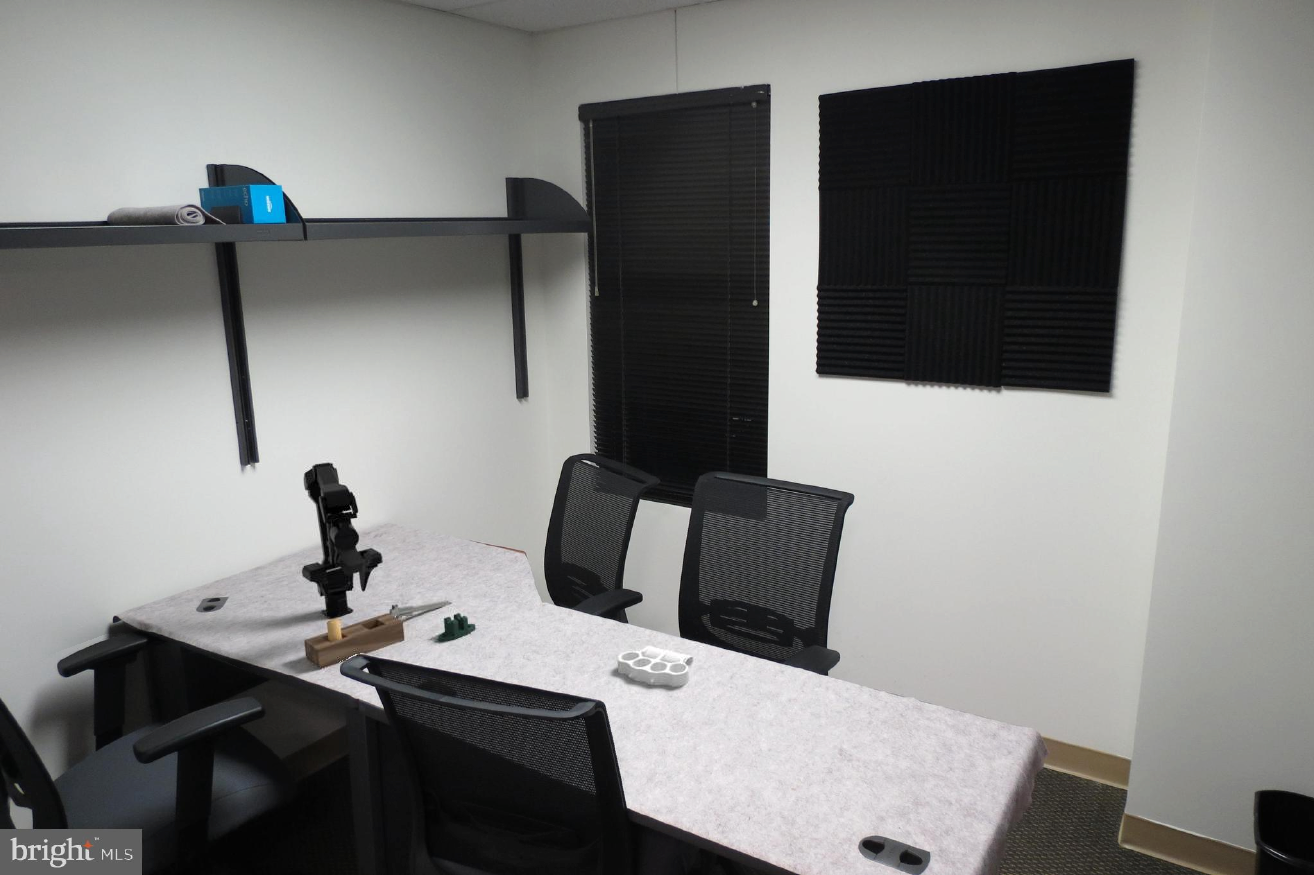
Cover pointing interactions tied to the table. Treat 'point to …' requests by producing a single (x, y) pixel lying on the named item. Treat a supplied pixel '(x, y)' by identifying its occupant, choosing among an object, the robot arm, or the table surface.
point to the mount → (455, 628)
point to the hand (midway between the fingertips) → (346, 596)
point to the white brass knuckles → (656, 666)
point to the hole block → (354, 640)
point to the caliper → (415, 608)
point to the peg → (334, 630)
